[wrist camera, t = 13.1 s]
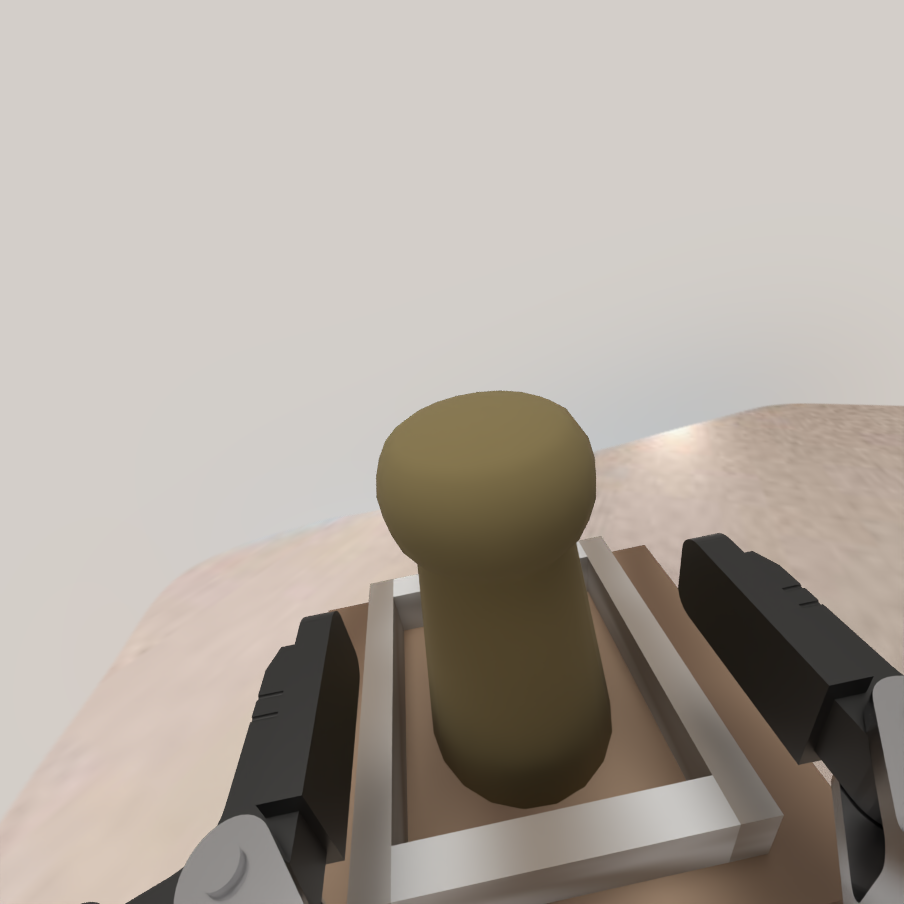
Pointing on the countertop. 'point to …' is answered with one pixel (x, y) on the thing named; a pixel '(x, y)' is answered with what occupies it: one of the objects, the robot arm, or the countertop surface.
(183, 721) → the countertop surface
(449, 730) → the olive pawn figure
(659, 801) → the spice dock
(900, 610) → the countertop surface
